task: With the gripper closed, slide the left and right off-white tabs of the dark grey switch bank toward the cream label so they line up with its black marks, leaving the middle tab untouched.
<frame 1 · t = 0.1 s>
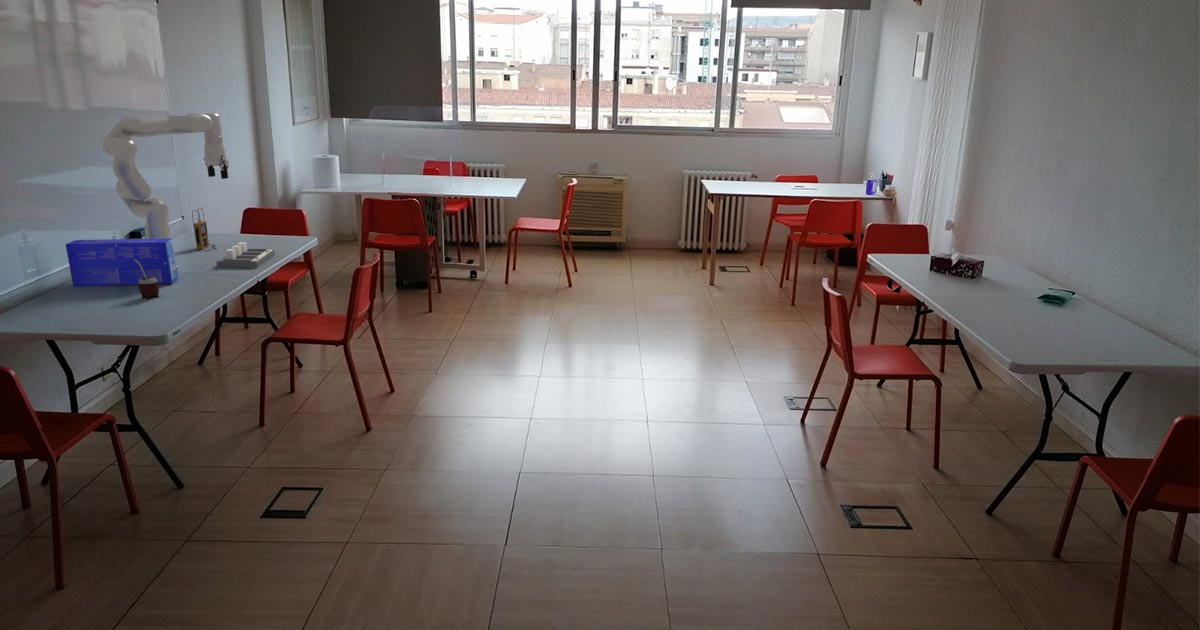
hand: (218, 177, 381), 37 cm above the table, tool pointing down, fingers open, 9 cm apart
tab left: (231, 254, 372), point 5 cm above the table, slide at 0.0 cm
tab middle: (236, 250, 379), point 5 cm above the table, slide at 0.0 cm
multimeter: (210, 248, 404), on the table
toner cartridge box: (126, 283, 343), on the table
tab right: (242, 247, 385), point 5 cm above the table, slide at 0.0 cm
switch bank: (246, 261, 380), on the table
mate gourd: (149, 297, 324), on the table
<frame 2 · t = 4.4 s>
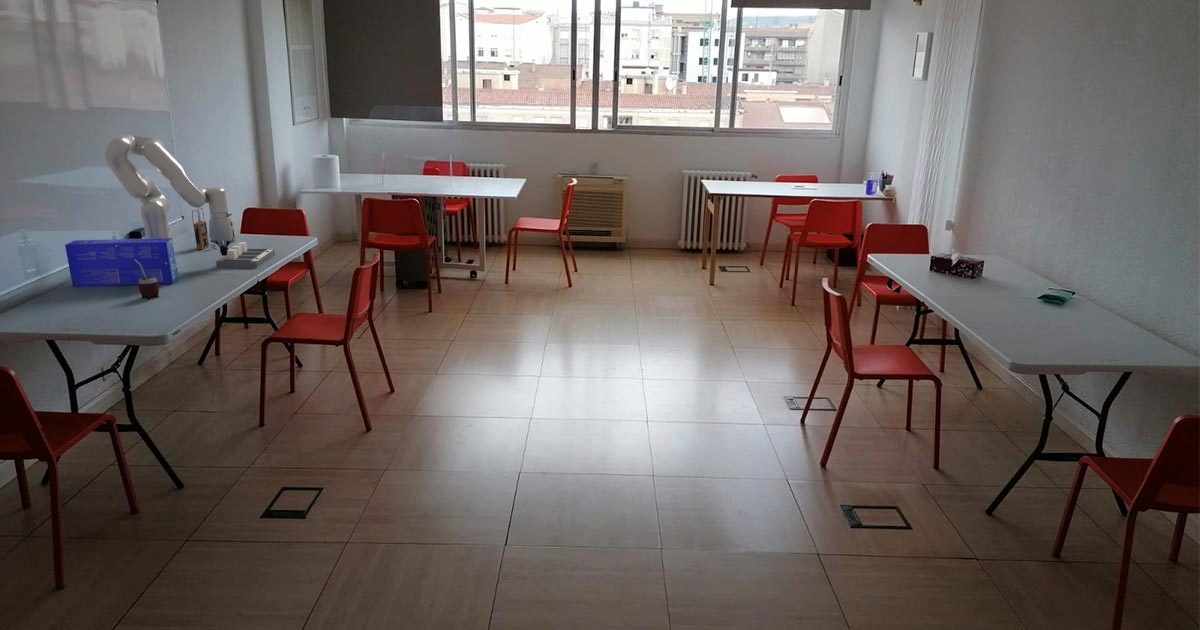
hand: (224, 255, 372), 5 cm above the table, tool pointing down, fingers closed
tab left: (232, 254, 372), point 5 cm above the table, slide at 0.7 cm, touching gripper
everything else where it was.
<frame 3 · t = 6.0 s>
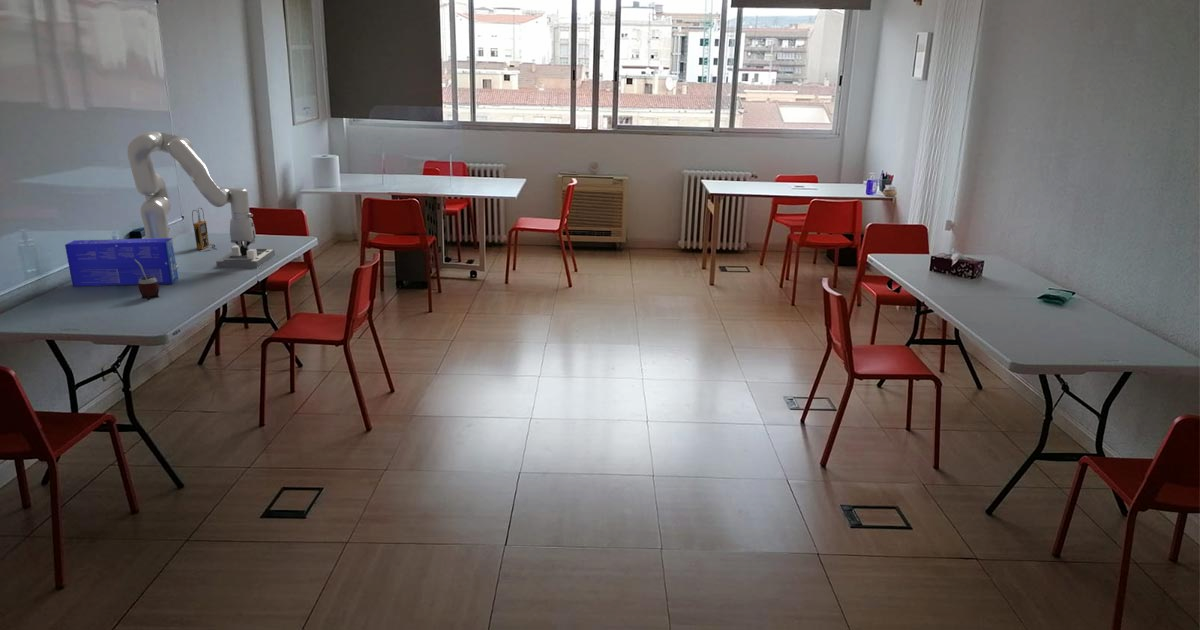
hand: (244, 255, 372), 5 cm above the table, tool pointing down, fingers closed
tab left: (251, 254, 372), point 5 cm above the table, slide at 9.4 cm, touching gripper, switch bank
everything else where it was.
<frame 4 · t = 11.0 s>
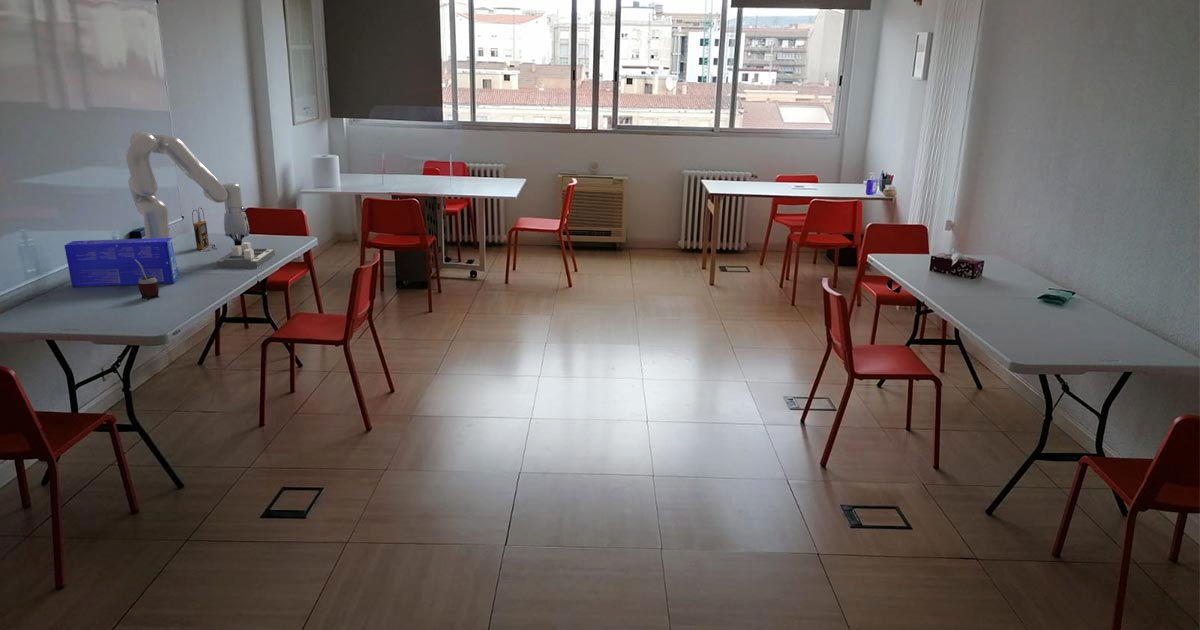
hand: (238, 248, 385), 5 cm above the table, tool pointing down, fingers closed
tab left: (248, 254, 372), point 5 cm above the table, slide at 8.1 cm
tab right: (246, 247, 385), point 5 cm above the table, slide at 1.9 cm, touching gripper
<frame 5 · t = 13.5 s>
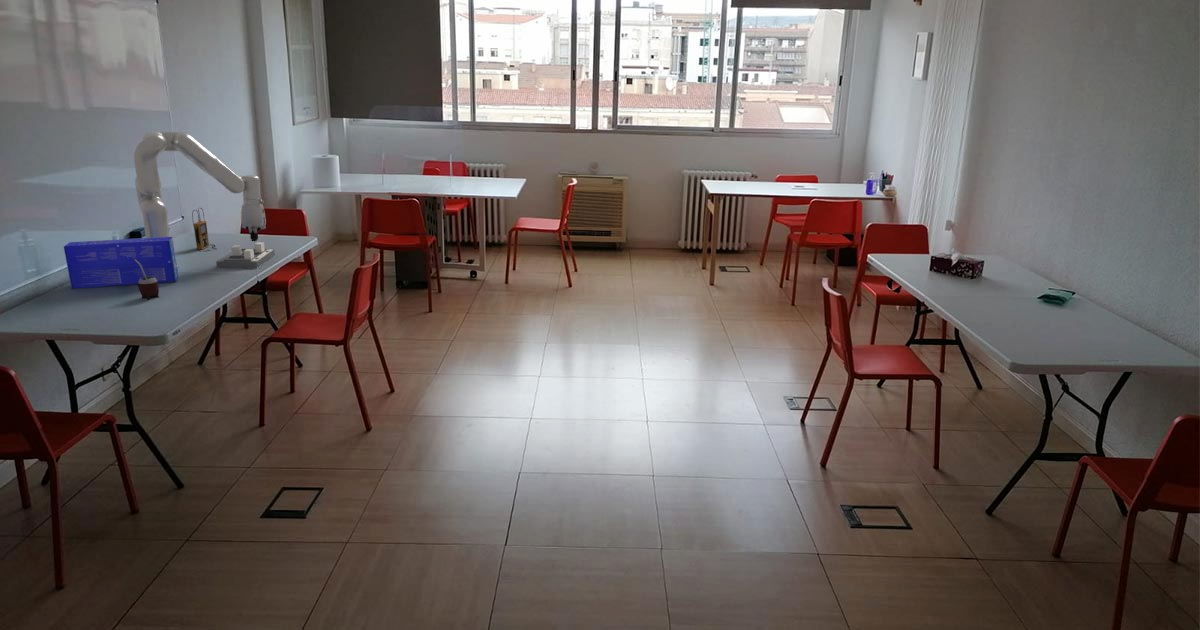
hand: (254, 240, 384), 9 cm above the table, tool pointing down, fingers closed
tab right: (259, 247, 386), point 5 cm above the table, slide at 8.1 cm
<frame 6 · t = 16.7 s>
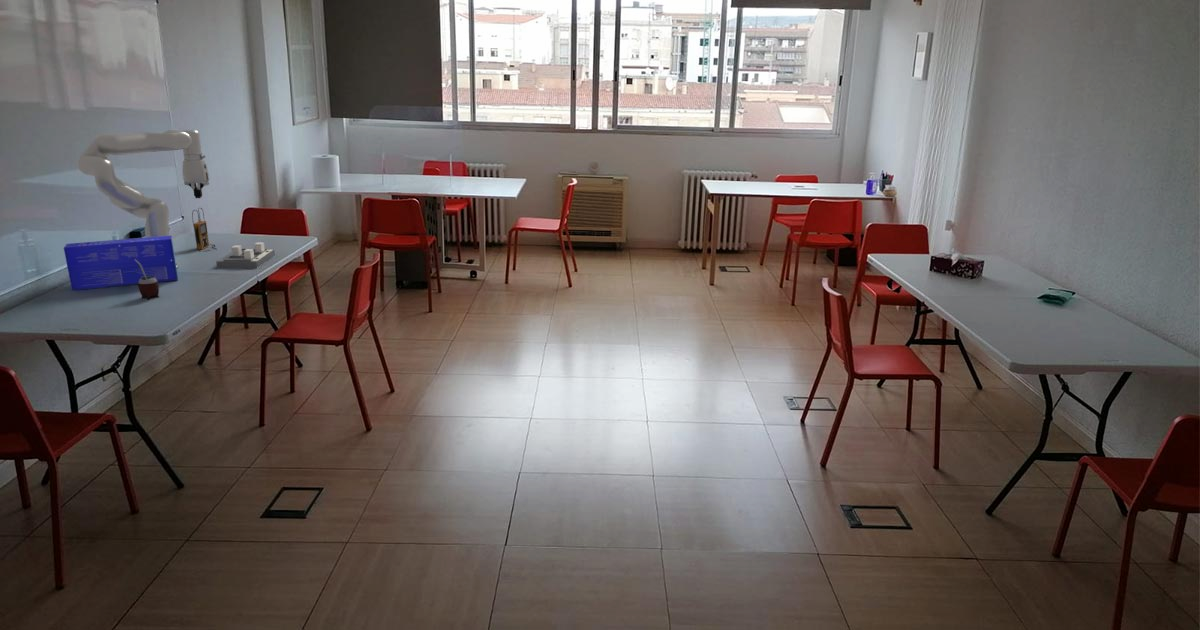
hand: (198, 197, 374), 29 cm above the table, tool pointing down, fingers closed
at the end: tab left slide at 8.1 cm; tab right slide at 8.1 cm; tab middle slide at 0.0 cm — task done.
